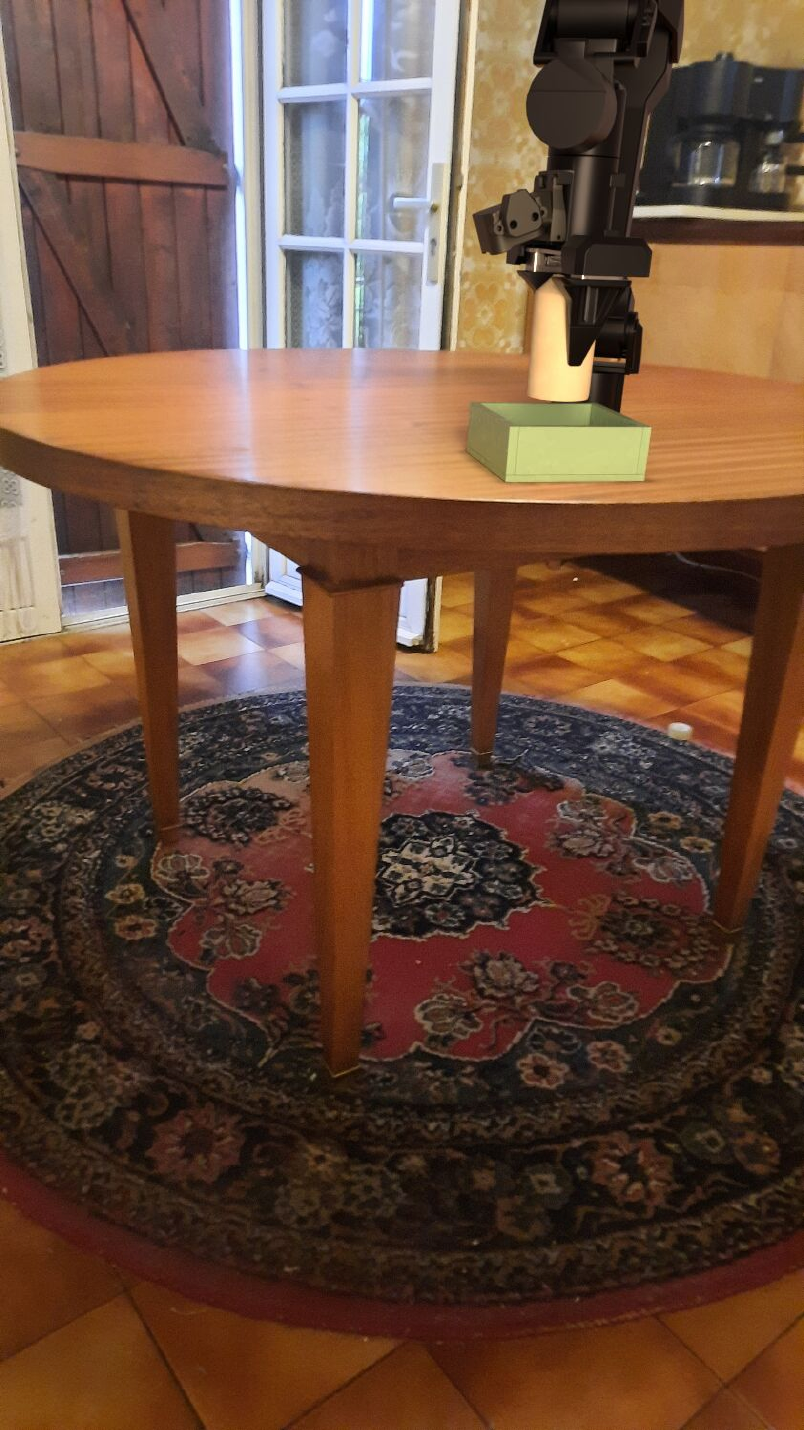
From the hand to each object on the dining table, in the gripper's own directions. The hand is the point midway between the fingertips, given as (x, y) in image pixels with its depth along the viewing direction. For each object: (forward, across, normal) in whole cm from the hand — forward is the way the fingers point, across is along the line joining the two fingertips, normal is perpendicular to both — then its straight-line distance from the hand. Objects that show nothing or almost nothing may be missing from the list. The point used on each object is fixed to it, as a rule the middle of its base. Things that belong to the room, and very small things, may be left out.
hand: (562, 361), depth 89 cm
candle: (+3, 0, 0) cm, 3 cm away
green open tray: (+9, 0, 0) cm, 9 cm away
